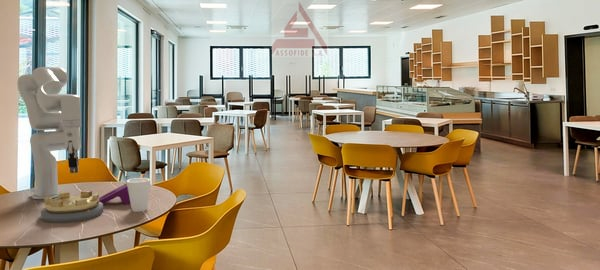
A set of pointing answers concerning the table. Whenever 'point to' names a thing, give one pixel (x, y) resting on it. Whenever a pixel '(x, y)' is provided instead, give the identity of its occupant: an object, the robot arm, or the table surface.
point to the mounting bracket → (117, 195)
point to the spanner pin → (74, 169)
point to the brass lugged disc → (71, 202)
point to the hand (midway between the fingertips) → (73, 166)
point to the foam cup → (138, 193)
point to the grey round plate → (71, 215)
